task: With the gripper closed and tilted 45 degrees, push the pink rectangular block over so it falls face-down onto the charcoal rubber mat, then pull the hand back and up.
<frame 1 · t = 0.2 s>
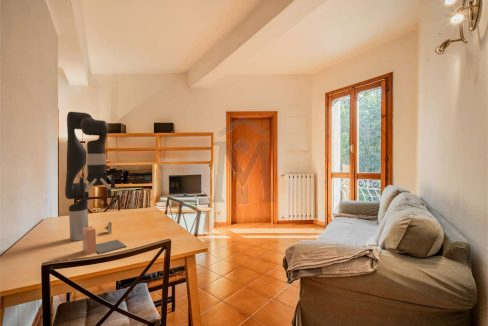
hand: (98, 198, 113), 29 cm above the table, tool pointing down, fingers open, 8 cm apart
mat: (108, 246, 132), on the table
architectural model: (109, 233, 157), on the table
pink rectangular block: (89, 251, 125), on the table
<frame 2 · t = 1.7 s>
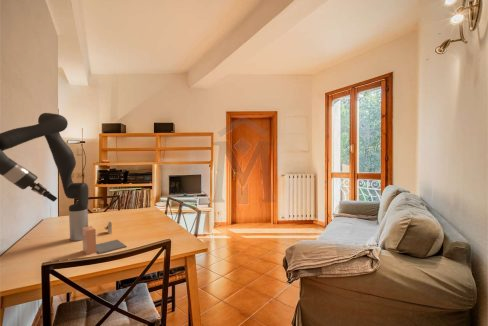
hand: (54, 199, 116), 29 cm above the table, tool tilted 45°, fingers open, 8 cm apart
nothing on the table moved.
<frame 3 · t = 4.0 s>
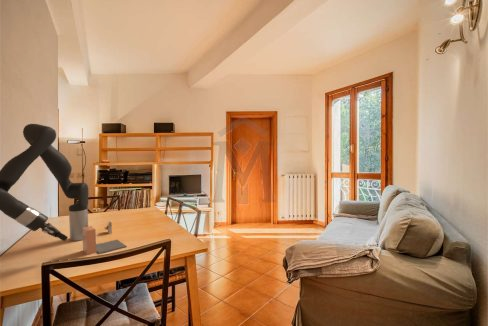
hand: (65, 238, 118), 9 cm above the table, tool tilted 45°, fingers closed
nothing on the table moved.
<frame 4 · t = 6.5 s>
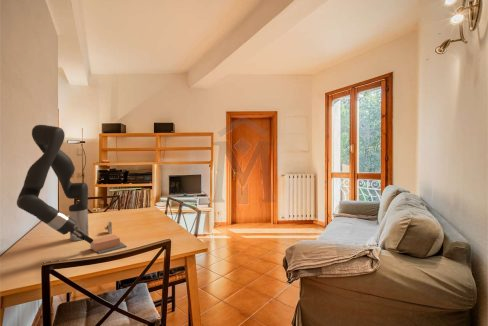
hand: (91, 241, 126), 5 cm above the table, tool tilted 45°, fingers closed
pink rectangular block: (92, 245, 126), point 3 cm above the table, tilted 90°, touching mat
everything else where it was.
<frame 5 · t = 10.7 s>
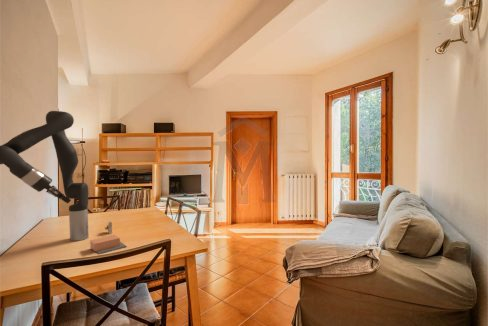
hand: (69, 201, 124), 26 cm above the table, tool tilted 45°, fingers closed
nothing on the table moved.
at the end: pink rectangular block tilted 90°; pink rectangular block touching mat; pink rectangular block inside the target area (0.7 cm from its centre), point 2.5 cm above the table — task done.
